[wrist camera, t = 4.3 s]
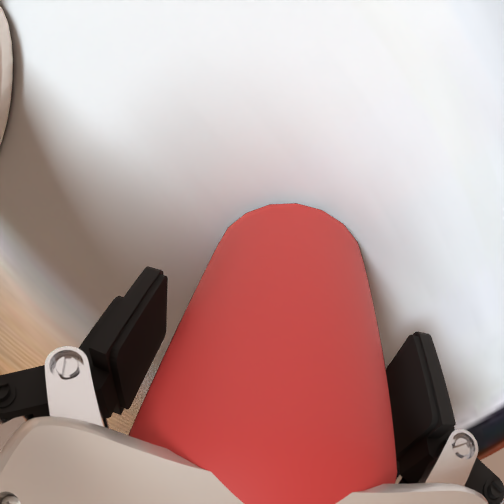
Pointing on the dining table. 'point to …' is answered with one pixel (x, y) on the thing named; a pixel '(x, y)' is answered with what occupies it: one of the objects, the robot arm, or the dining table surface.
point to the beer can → (278, 366)
